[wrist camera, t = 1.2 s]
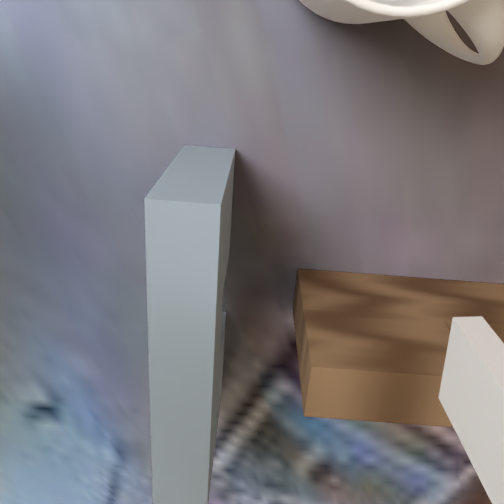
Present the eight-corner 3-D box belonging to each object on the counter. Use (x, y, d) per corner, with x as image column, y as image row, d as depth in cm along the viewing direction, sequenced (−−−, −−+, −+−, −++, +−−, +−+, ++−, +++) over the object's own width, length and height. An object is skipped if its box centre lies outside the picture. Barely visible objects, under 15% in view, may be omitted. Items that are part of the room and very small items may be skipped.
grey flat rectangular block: (181, 386, 35) (152, 509, 26) (184, 144, 27) (144, 198, 18) (221, 389, 35) (206, 512, 26) (235, 148, 27) (220, 204, 18)
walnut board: (292, 307, 32) (304, 416, 23) (297, 268, 31) (311, 366, 22) (584, 329, 32) (711, 445, 23) (601, 291, 31) (742, 398, 22)
